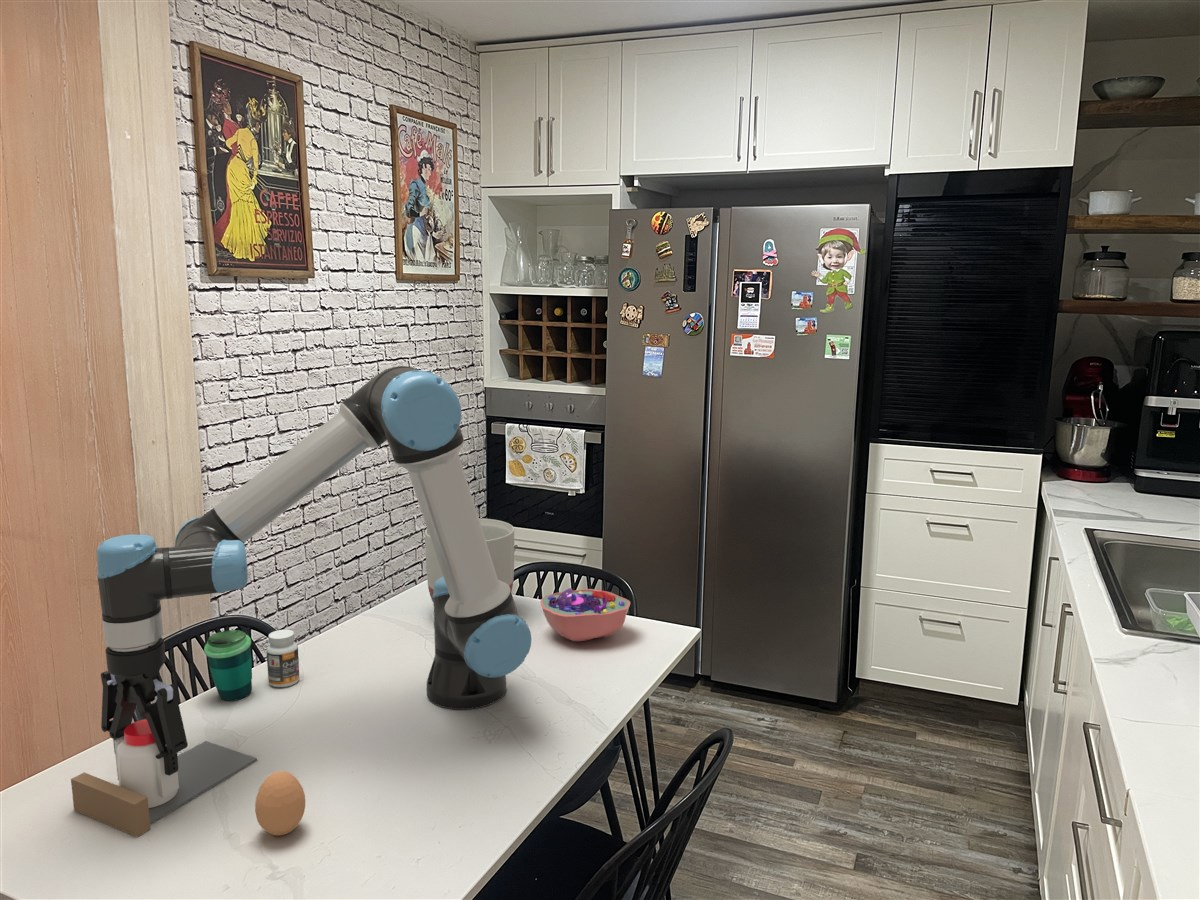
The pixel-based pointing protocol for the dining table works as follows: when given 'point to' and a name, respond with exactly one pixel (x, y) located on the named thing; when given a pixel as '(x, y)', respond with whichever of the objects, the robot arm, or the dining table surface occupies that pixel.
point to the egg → (280, 803)
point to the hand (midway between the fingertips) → (148, 783)
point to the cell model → (585, 613)
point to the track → (131, 809)
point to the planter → (499, 548)
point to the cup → (230, 663)
